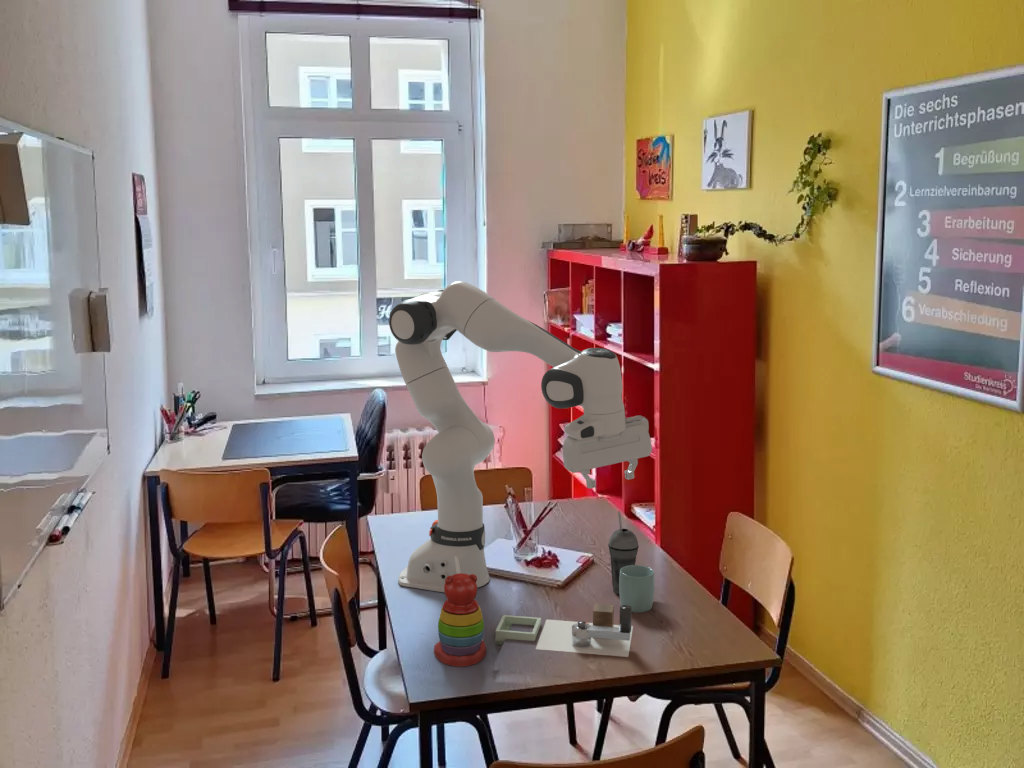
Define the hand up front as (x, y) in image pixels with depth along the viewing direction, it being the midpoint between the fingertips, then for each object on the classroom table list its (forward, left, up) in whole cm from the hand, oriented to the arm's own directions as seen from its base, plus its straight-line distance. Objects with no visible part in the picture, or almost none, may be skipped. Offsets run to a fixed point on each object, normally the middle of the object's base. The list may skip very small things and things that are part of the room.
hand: (610, 483), depth 214 cm
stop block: (0, -13, -30) cm, 32 cm away
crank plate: (-3, -15, -31) cm, 35 cm away
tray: (-18, -15, -31) cm, 39 cm away
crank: (0, -19, -29) cm, 35 cm away
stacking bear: (-28, -26, -31) cm, 49 cm away
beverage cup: (+2, +15, -31) cm, 35 cm away
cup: (+6, +3, -31) cm, 32 cm away
